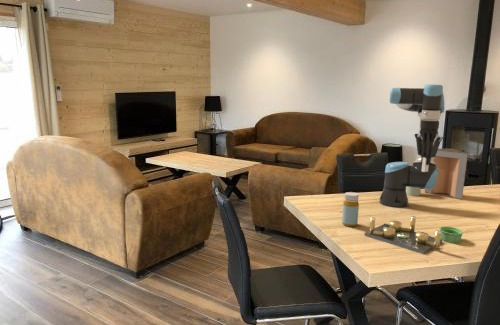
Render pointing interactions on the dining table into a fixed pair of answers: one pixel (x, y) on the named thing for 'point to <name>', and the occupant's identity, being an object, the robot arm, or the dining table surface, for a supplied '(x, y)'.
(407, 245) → the control panel
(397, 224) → the knob
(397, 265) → the dining table surface
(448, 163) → the cabinet
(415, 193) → the can
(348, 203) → the bottle
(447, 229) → the ramekin
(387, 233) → the knob
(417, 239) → the knob
